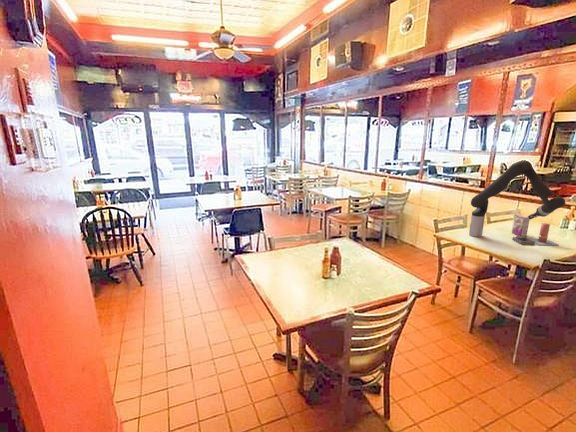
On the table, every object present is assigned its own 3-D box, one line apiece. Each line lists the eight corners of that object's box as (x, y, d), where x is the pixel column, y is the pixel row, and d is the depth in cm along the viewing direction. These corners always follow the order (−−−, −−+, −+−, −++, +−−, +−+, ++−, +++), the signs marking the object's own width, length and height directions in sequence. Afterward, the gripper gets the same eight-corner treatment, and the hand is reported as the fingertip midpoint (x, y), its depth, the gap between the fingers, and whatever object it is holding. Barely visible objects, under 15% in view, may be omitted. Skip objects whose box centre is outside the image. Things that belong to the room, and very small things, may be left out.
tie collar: (510, 239, 248) (510, 236, 247) (523, 239, 247) (524, 236, 246) (520, 244, 236) (521, 241, 235) (534, 244, 235) (534, 241, 235)
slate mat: (526, 239, 247) (526, 238, 246) (545, 239, 246) (545, 238, 245) (539, 245, 233) (539, 244, 233) (558, 245, 232) (558, 244, 232)
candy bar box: (511, 232, 263) (514, 214, 258) (517, 232, 262) (520, 214, 258) (520, 237, 252) (523, 217, 248) (526, 237, 252) (530, 217, 247)
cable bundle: (536, 240, 242) (539, 223, 238) (543, 240, 241) (546, 223, 238) (541, 242, 237) (544, 225, 233) (548, 242, 236) (551, 225, 233)
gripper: (552, 200, 215) (543, 206, 230) (530, 209, 218) (523, 215, 233) (559, 210, 212) (550, 215, 227) (537, 219, 216) (529, 223, 230)
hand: (536, 215), depth 230 cm, fingers open, 8 cm apart
